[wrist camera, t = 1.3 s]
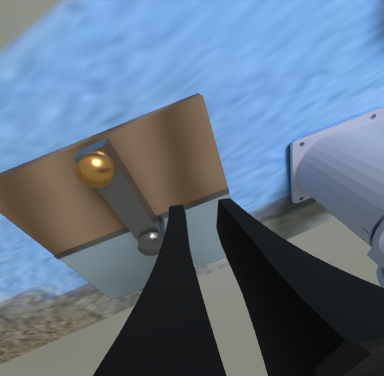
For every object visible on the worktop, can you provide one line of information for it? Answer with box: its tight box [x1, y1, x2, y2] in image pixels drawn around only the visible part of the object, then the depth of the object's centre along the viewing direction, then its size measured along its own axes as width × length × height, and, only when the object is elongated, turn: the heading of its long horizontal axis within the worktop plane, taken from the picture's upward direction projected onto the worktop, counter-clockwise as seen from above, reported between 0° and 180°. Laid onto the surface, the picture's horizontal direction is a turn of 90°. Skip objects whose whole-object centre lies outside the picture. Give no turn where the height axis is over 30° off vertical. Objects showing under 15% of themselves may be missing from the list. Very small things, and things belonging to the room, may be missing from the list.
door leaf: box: [60, 194, 231, 300], centre depth 22 cm, size 18×10×2 cm, turn 109°
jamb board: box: [0, 93, 229, 259], centre depth 17 cm, size 18×9×2 cm, turn 109°
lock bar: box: [73, 138, 165, 256], centre depth 15 cm, size 10×2×3 cm, turn 19°
